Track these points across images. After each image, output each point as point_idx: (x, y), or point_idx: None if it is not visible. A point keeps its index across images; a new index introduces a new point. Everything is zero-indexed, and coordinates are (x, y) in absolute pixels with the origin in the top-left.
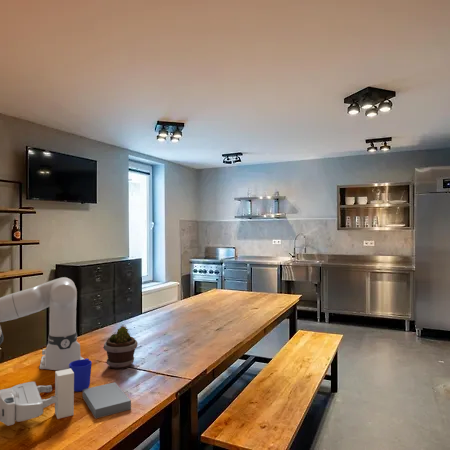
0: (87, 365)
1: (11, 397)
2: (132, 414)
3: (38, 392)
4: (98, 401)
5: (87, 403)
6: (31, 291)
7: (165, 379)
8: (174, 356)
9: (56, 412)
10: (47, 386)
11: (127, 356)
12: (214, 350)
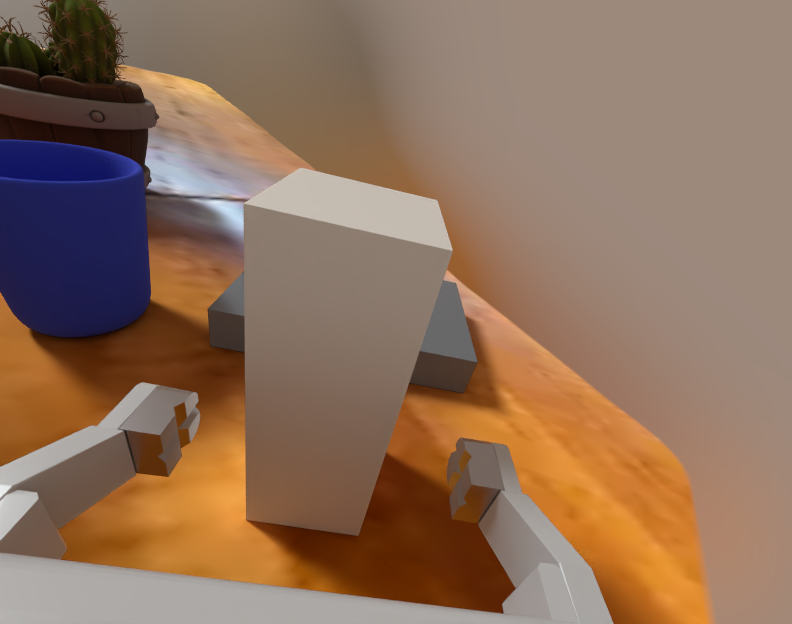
0: (142, 172)
1: None
2: (483, 320)
3: (336, 601)
4: None
5: None
6: None
7: None
8: (215, 162)
9: (318, 514)
10: (138, 417)
11: (142, 150)
12: (270, 151)
